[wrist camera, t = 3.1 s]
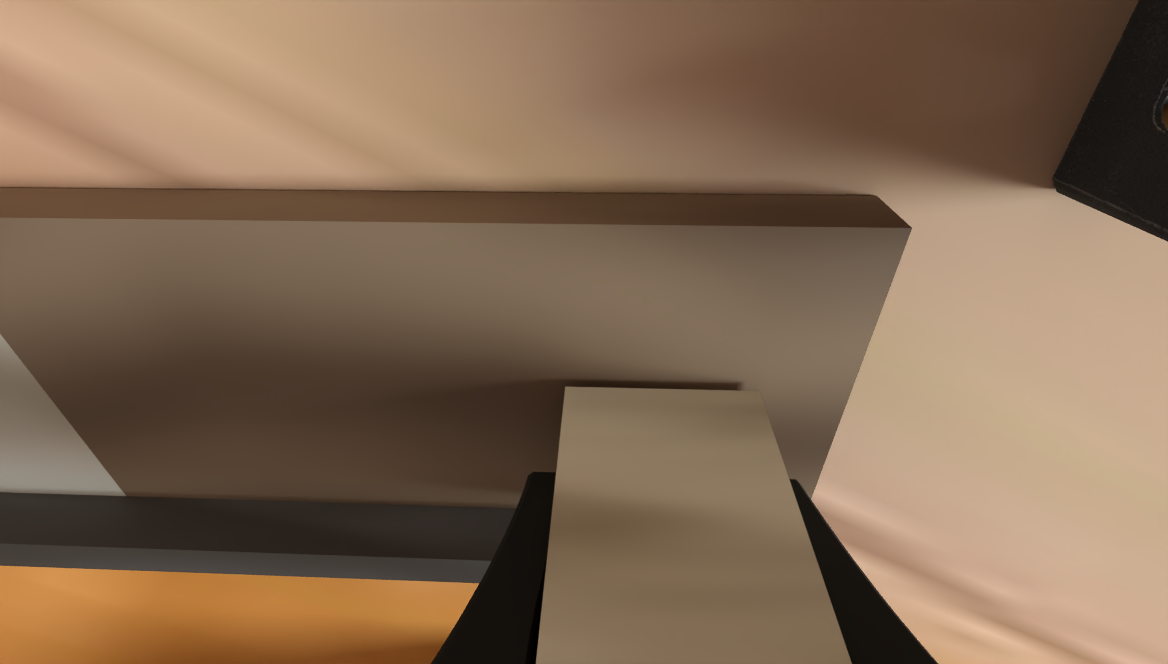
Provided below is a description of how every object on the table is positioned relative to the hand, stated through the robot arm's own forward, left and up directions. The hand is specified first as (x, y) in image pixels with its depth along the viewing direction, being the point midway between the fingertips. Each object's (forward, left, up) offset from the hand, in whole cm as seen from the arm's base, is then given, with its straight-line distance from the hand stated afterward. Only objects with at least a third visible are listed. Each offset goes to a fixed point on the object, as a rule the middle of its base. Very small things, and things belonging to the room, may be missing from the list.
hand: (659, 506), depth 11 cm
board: (+1, +9, -3) cm, 10 cm away
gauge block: (0, 0, -1) cm, 1 cm away
